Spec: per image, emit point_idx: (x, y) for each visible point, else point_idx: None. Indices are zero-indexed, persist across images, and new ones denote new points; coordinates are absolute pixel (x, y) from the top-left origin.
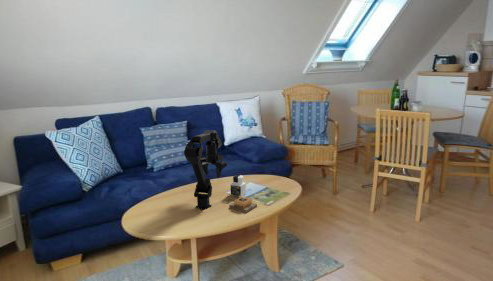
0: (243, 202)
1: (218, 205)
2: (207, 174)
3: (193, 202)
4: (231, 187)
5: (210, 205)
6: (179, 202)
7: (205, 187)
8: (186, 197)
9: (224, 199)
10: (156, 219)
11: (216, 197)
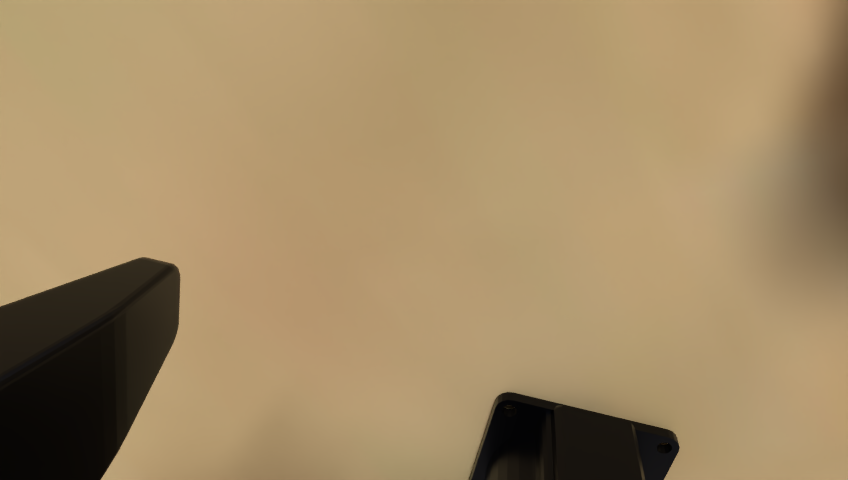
0: None
1: (789, 381)
2: (165, 283)
3: (328, 386)
4: None
5: (669, 453)
6: (146, 432)
7: None
8: (86, 257)
9: (832, 113)
10: None
11: (611, 72)
